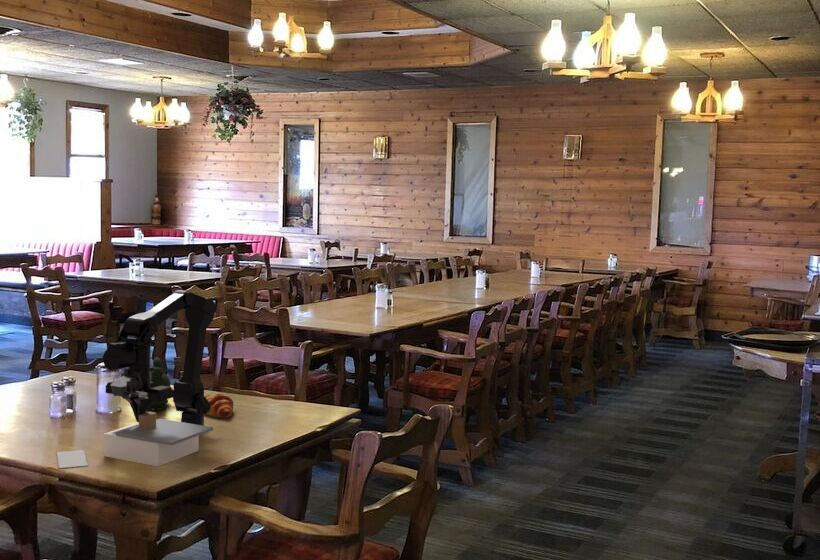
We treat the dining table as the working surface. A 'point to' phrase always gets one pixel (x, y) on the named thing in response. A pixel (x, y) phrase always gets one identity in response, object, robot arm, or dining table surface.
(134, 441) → the lidded box
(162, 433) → the lid
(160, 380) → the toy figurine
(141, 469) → the dining table surface
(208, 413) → the croissant
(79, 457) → the smartphone
